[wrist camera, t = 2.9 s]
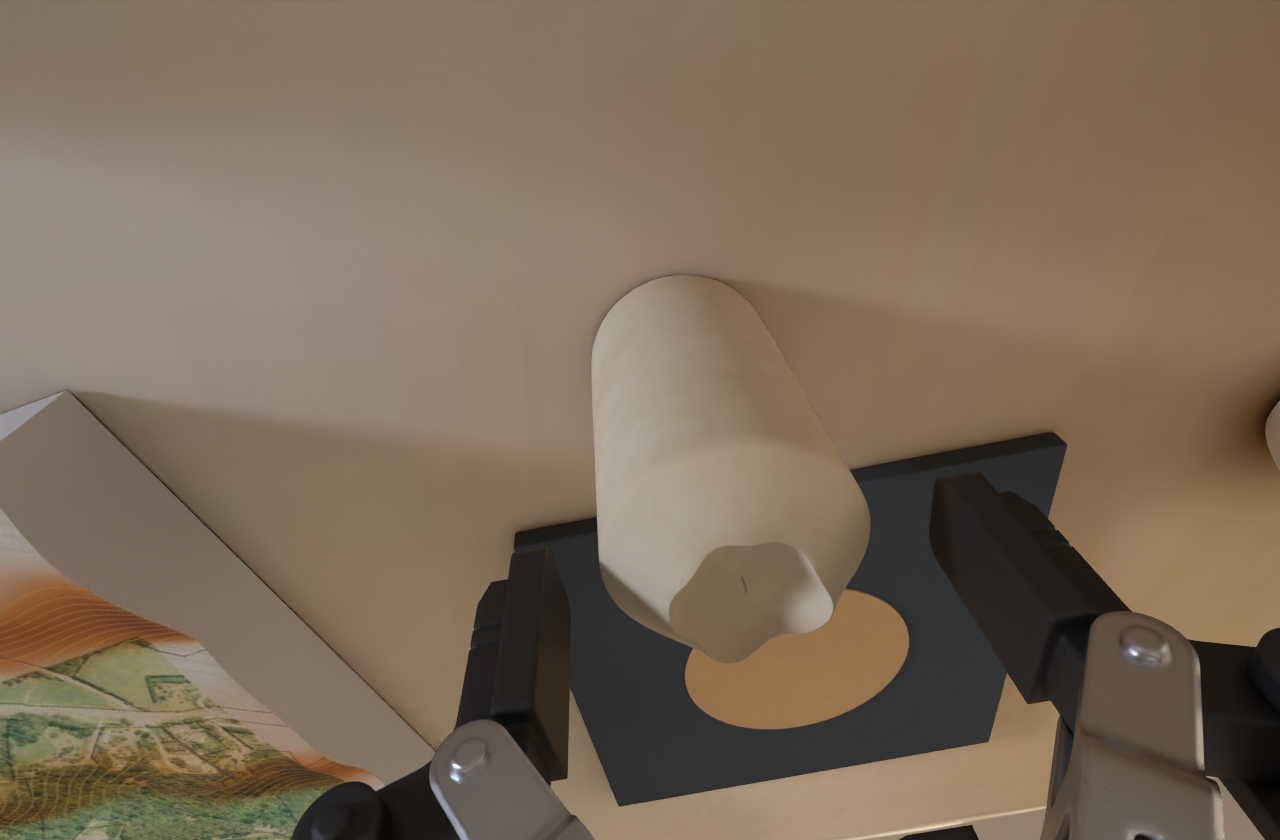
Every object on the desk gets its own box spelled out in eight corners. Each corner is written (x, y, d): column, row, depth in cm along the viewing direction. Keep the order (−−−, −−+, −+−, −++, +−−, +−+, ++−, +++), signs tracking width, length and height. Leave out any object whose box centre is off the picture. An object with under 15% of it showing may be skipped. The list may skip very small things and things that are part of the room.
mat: (617, 791, 34) (618, 809, 34) (515, 532, 23) (512, 550, 23) (981, 728, 34) (990, 744, 33) (1054, 431, 23) (1070, 445, 22)
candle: (790, 290, 19) (958, 519, 11) (734, 438, 22) (831, 709, 13) (610, 254, 18) (640, 477, 9) (576, 415, 21) (576, 693, 12)
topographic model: (-316, 530, 20) (-546, 667, 16) (66, 389, 19) (-80, 501, 14) (273, 877, 37) (235, 989, 32) (503, 818, 35) (493, 928, 31)
